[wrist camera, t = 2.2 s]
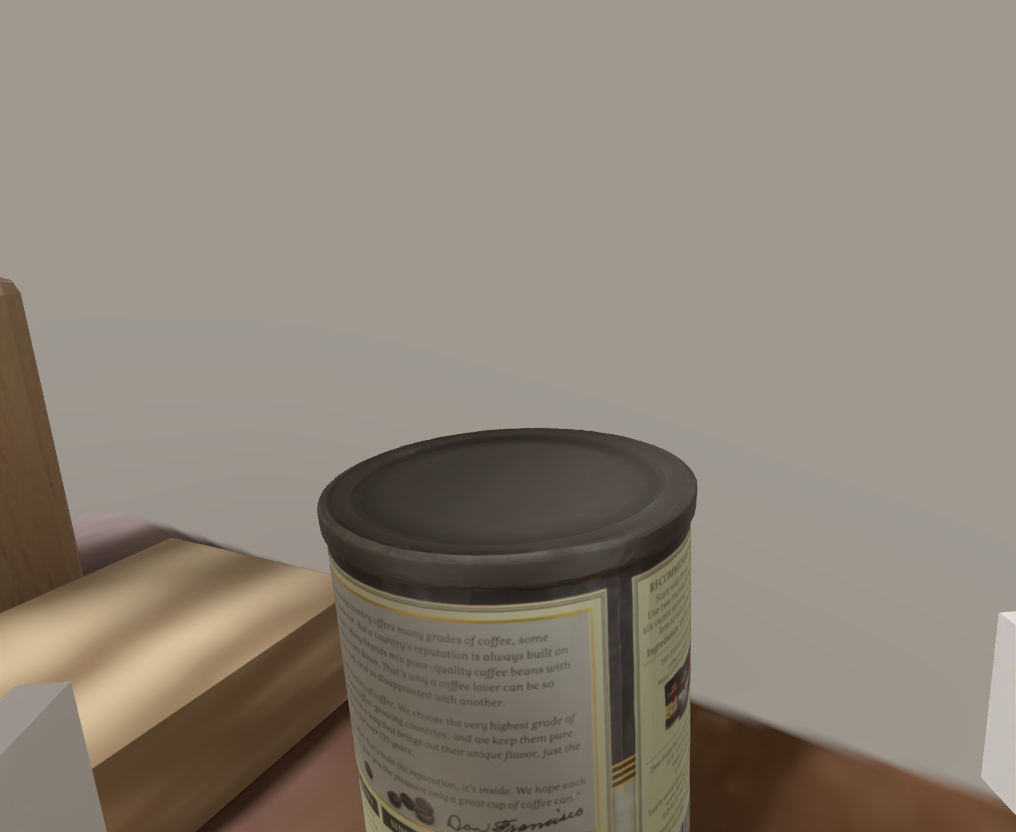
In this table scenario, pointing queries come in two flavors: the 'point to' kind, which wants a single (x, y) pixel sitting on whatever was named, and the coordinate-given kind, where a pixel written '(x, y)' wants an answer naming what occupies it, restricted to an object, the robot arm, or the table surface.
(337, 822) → the table surface
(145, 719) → the oak block
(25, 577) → the wooden block
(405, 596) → the coffee can
